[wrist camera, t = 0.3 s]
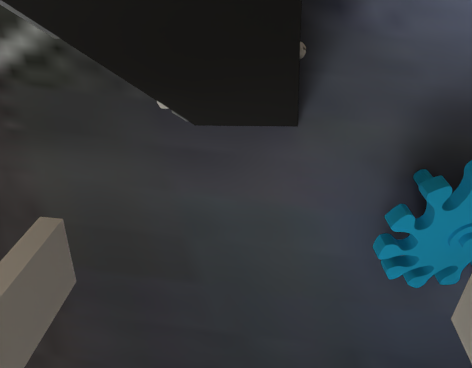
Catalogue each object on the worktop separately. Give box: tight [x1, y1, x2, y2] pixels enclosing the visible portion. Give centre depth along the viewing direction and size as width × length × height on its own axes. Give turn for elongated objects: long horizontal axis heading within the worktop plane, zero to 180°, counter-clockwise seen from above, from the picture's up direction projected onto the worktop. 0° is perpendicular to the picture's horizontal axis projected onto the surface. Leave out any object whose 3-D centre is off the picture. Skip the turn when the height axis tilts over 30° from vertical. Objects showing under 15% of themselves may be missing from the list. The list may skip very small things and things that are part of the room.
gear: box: [373, 160, 472, 288], centre depth 24 cm, size 11×6×10 cm
